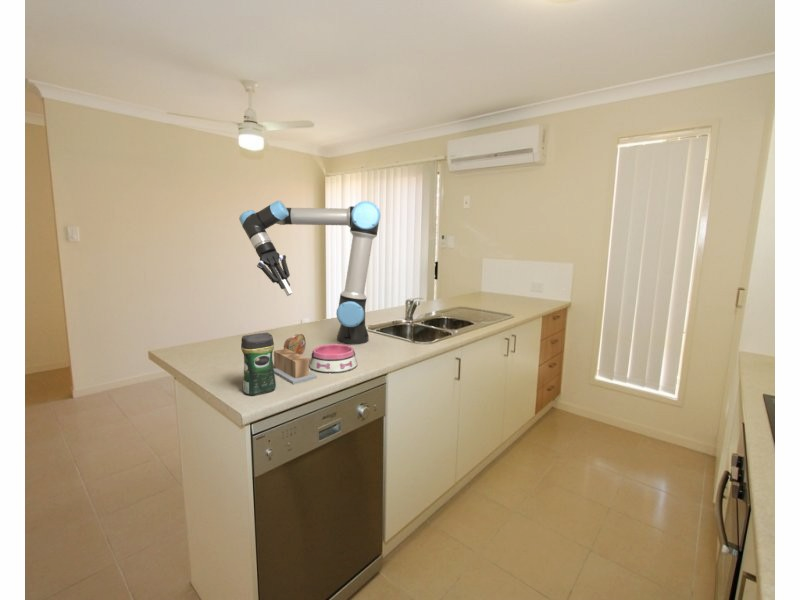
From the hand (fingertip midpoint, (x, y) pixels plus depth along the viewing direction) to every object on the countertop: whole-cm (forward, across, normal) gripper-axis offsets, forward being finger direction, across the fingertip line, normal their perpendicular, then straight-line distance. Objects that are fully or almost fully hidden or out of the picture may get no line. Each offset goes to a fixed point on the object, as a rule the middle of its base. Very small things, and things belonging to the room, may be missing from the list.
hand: (289, 294), depth 159 cm
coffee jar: (+30, +34, +17) cm, 49 cm away
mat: (+31, +19, +11) cm, 38 cm away
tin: (+24, +7, -8) cm, 26 cm away
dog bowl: (+35, +3, +9) cm, 36 cm away
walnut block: (+22, +18, +4) cm, 29 cm away
